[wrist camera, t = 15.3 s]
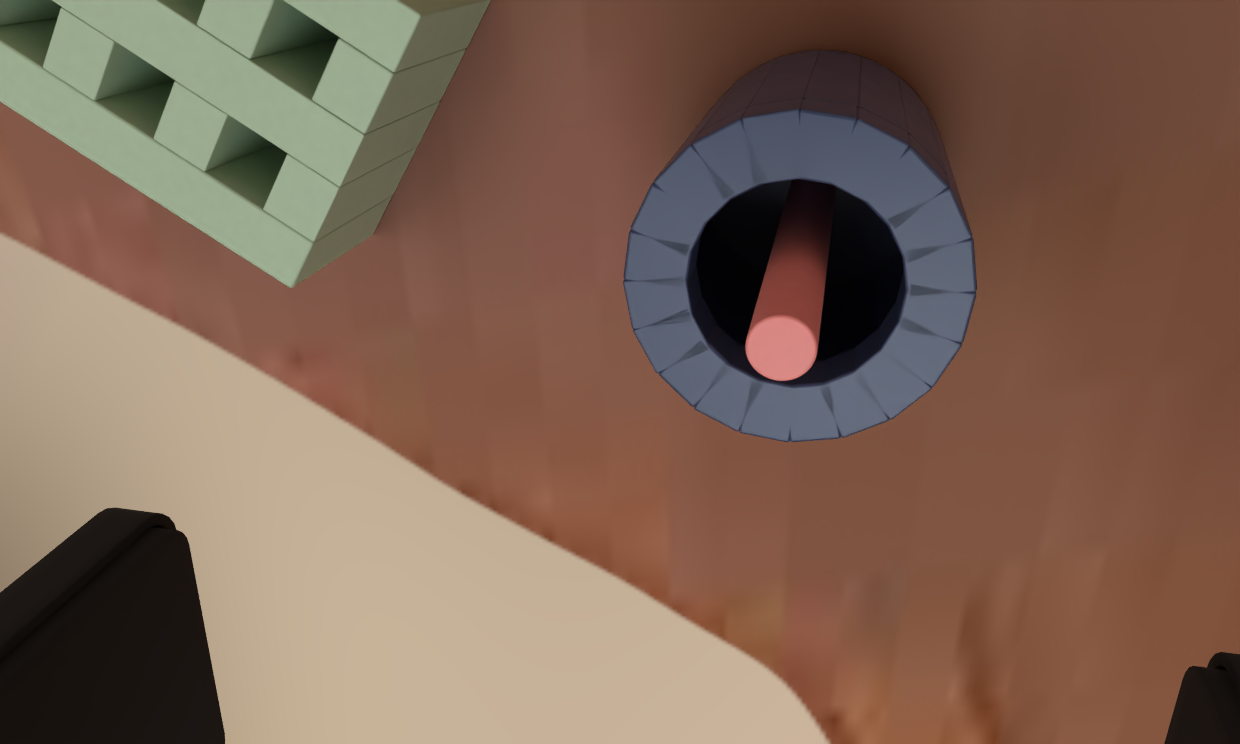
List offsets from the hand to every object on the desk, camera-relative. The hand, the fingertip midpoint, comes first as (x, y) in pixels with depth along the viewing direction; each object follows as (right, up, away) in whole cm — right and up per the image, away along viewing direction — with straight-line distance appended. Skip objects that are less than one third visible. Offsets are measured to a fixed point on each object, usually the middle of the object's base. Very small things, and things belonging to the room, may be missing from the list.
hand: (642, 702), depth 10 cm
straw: (+6, +9, +23) cm, 26 cm away
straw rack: (-12, +15, +26) cm, 32 cm away
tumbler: (+6, +9, +24) cm, 26 cm away
